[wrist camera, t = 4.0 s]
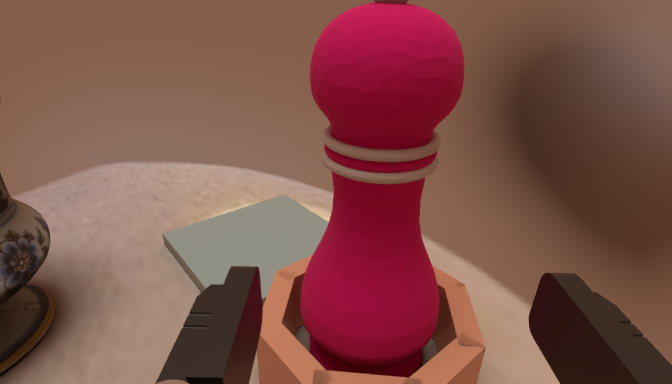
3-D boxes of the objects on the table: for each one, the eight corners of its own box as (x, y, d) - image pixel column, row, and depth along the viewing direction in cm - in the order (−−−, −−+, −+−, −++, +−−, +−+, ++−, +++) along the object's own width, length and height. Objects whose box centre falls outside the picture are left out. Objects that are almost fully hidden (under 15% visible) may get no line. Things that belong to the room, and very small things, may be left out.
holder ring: (232, 346, 23) (225, 293, 21) (366, 273, 29) (369, 228, 27) (360, 520, 15) (365, 460, 13) (502, 369, 22) (519, 316, 20)
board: (164, 243, 32) (162, 233, 32) (285, 203, 39) (284, 194, 39) (229, 327, 24) (227, 315, 24) (366, 257, 31) (367, 247, 31)
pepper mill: (413, 312, 26) (462, -35, 17) (443, 417, 19) (550, -61, 10) (304, 313, 25) (297, -40, 17) (297, 419, 19) (280, -69, 10)
